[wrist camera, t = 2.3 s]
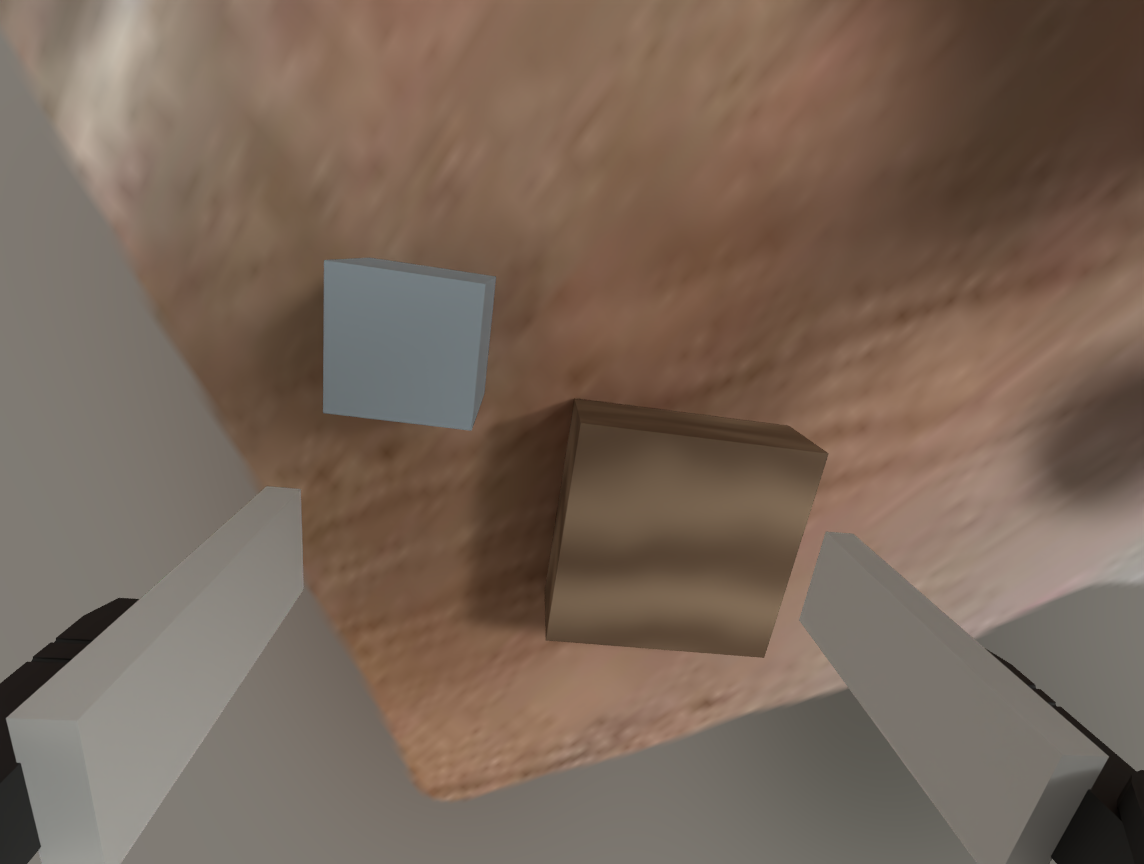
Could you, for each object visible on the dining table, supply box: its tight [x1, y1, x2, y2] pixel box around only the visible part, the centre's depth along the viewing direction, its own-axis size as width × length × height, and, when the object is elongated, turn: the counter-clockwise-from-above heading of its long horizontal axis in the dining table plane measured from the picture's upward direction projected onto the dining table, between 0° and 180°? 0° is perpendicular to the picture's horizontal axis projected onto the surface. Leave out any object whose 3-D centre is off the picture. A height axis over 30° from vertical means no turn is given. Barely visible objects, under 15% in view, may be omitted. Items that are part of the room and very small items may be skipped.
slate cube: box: [323, 258, 496, 431], centre depth 28 cm, size 7×7×7 cm
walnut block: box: [545, 398, 828, 658], centre depth 34 cm, size 14×14×5 cm
